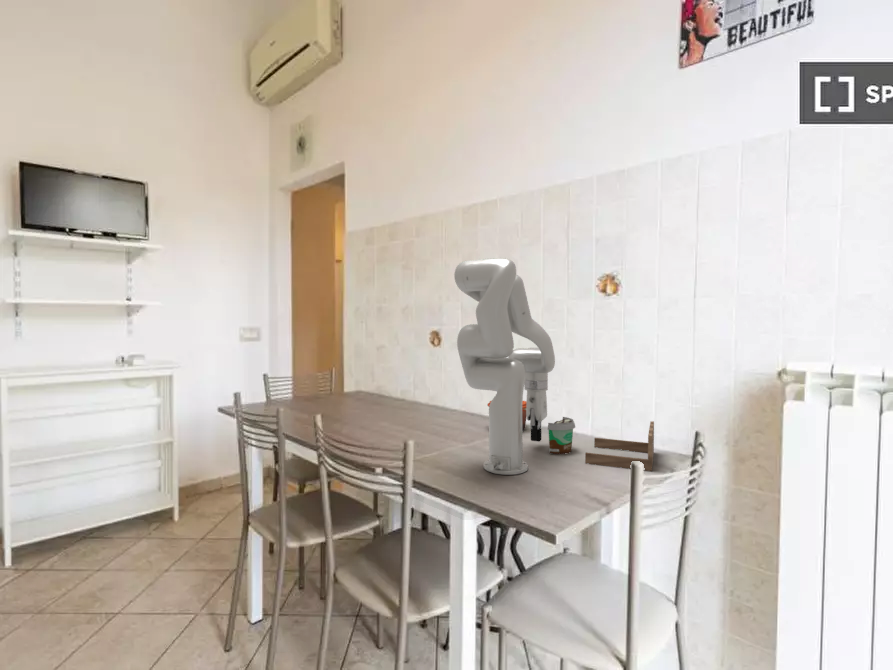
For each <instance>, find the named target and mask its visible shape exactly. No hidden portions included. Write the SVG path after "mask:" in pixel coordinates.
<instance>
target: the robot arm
mask: <svg viewBox="0 0 893 670" xmlns="http://www.w3.org/2000/svg"><path fill="white" fill-rule="evenodd" d="M453 275H454V281H455V282H454V283H455V284H456V285H457V286H456V287H457V288H458V289H459V290H460V291H461V292H462V293H464V294H466V295H467V296H469V297H470V298H472V299H473V301H477V302H478V303H477V305H476V309H475V317H476V322H477V323H473V324H472V323H471V324H467V325H464V326H462V328H461V329H459V332H458V334H457V338H456V339H457V340H456V343H457V344H456V346H457V351H458V352H457V353H458V356H459V360H460V363H461V368H462V370H463V374H464V378H465V379H466V383H467V384H468V386H469V387H470V388H471V389H475V390H483V391H492V392H496V394H495V396H494V397H493V398H492V400H490V401H491V403H490V405H489V406H488V459H487V460H485V461H484V462H483V469H484V470H485V471H487V472H489V473H492V474H495V475H505V476H508V475H510V476H511V475H520V474H524V473H525V472H527V470H529V464H528V463H527V462H526V461H524V460H523V431H522V401H524V400H523V399H524V391H526V402H527V403H526V421H529V425H530V441H531V442H539V443H540V442H541V441H542V423H543V421H544V420H545V419H547V417H548V403H547V391H548V387H549V385H548V383H549V382H548V380H549V379H548V375H549V373H550V372H552V371H553V370H554V368H555V365H556V364H555V363H556V357H555V351H554V346H553V342H552V339H551V336H550V335H549V333H548V332H547V331H546V329H544V328H543V327H542V325H540V324H539V323H538V322H537V321H535V319H533V318H532V315H531V311H530V310H531V309H530V306H529V302H528V296H527V293H526V288H525V284H524V281H523V278H522V277H521V276H520V275H518V274H517V267H516V264H515V262H514V261H513V260H511V259H510V258H509V259H508V258H506V257H505V258H503V257H497V258H485V259H484V258H483V259H472V260H471V259H470V260H465V261H462V262H459V263H458V264H457V265H456V267H455V270H454V274H453ZM513 333H514V334H516V335H519V336H521V337H523V338H525V339H526V340H529V341H530V342H532V343H533V344H534V345H535V346H536V347H528V348H527V347H526V348H523V347H522V348H519V347H518V348H514V347H515V346H514V345H515V343H514V336H513Z"/></svg>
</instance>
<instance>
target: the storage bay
mask: <svg viewBox="0 0 893 670" xmlns="http://www.w3.org/2000/svg"><path fill="white" fill-rule="evenodd" d="M647 436H648V437H647V442H642V441H634V440H633V441H632V440H624V439H622V440H620V439H613V438H603V437H602V438H601V437H594V448H596V447H598V449H605V448H609V449H608V450H615V449H622V450H621V451H624V450H629V451H628V452H634V451H635V453H644V454H647V458H639V457H629V456H622V455H621V456H620V455H612V454H605V453H604V454H603V453H595V452H585V454H584V455H585V456H584V457H585V459H584V460H585V463H584V464H587V463H589V465H595V464H596V465H597V466H605V467H611V468H620V467H622V468H621V469H628V468H629V469H630V465H631V462H632V461H640V462H642V463H643V464H644V468H645V471H644V472H652V471H653V466H654V465H653V462H654V454H655V453H654V450H655V421H653V420H651V421H650V423H649V428H648V433H647ZM629 469H628V470H629Z"/></svg>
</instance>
